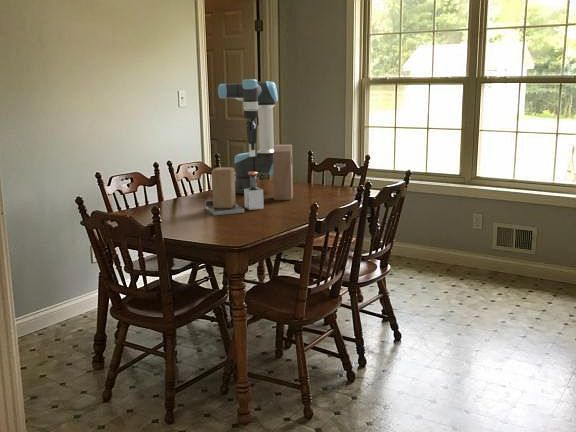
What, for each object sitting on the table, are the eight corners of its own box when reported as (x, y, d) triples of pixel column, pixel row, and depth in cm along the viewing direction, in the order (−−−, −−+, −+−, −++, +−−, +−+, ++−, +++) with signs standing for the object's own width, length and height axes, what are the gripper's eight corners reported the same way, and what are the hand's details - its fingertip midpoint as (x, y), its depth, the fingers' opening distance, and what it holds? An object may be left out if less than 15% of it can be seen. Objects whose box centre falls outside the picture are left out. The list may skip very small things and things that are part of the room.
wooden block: (231, 208, 324) (230, 170, 320) (212, 208, 326) (210, 170, 322) (236, 205, 334) (234, 167, 330) (217, 204, 335) (215, 167, 331)
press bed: (205, 208, 336) (205, 200, 335) (235, 206, 341) (234, 198, 340) (213, 215, 319) (213, 206, 318) (244, 212, 325) (244, 204, 324)
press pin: (247, 192, 335) (247, 171, 333) (256, 191, 337) (256, 171, 335) (250, 194, 331) (249, 173, 328) (259, 193, 332) (259, 172, 330)
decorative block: (293, 196, 364) (291, 144, 358) (291, 200, 354) (290, 146, 348) (276, 196, 365) (274, 144, 359) (273, 200, 355) (272, 146, 349)
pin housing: (244, 207, 338) (244, 188, 336) (259, 205, 341) (258, 187, 338) (249, 210, 330) (248, 191, 328) (263, 208, 333) (263, 189, 331)
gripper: (240, 110, 329) (241, 155, 334) (247, 111, 317) (249, 158, 322) (254, 109, 332) (255, 154, 337) (261, 110, 320) (263, 157, 325)
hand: (252, 156), depth 330 cm, fingers closed
